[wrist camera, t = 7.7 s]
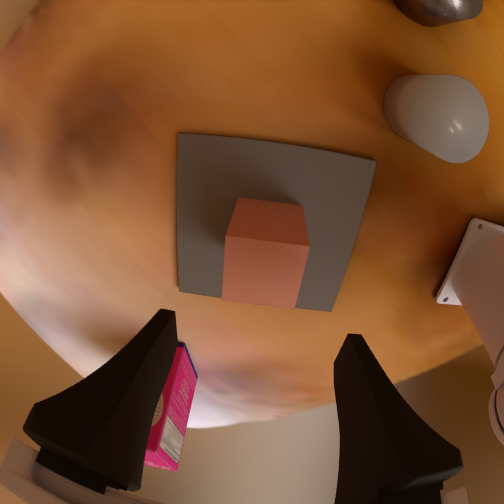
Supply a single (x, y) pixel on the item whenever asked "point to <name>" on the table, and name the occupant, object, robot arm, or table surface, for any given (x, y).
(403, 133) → the grey domed cylinder
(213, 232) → the charcoal mat
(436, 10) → the metal tin
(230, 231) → the red block
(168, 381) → the supplement box
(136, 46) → the table surface
